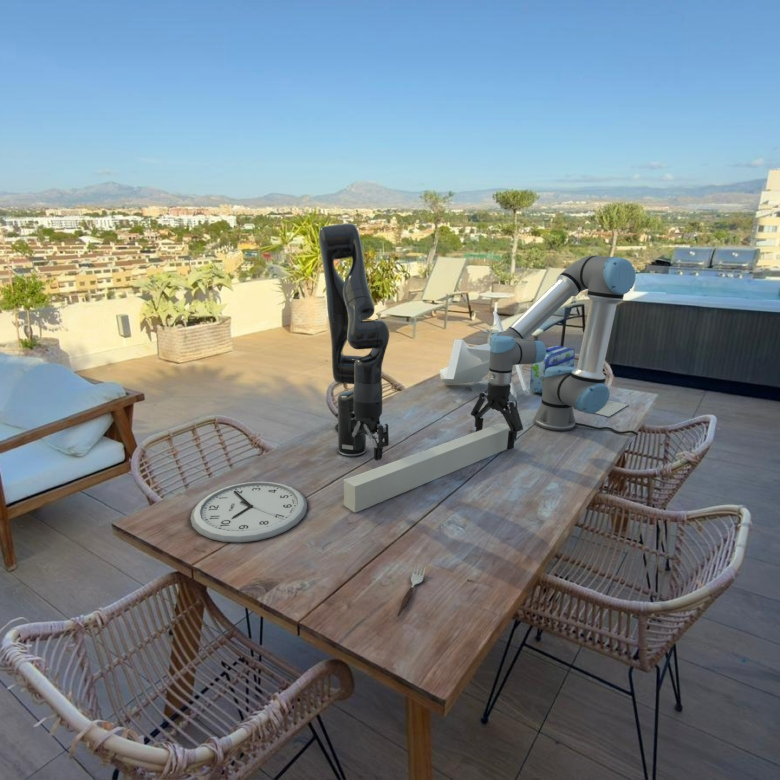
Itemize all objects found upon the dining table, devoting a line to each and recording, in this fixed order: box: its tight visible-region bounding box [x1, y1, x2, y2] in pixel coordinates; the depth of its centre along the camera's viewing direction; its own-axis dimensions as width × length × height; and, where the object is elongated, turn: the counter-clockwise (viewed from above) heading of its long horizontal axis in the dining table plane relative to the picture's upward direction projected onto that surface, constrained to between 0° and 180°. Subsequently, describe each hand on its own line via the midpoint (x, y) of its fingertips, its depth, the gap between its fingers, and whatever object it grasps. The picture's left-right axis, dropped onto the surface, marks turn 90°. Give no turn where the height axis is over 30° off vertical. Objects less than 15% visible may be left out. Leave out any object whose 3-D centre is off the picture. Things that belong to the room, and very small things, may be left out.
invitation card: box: [595, 399, 629, 418], centre depth 226 cm, size 21×1×15 cm
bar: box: [343, 422, 510, 514], centre depth 161 cm, size 68×5×8 cm, turn 131°
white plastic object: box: [438, 310, 531, 400], centre depth 245 cm, size 37×45×31 cm
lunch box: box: [529, 345, 576, 394], centre depth 244 cm, size 26×11×21 cm, turn 135°
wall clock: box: [190, 481, 308, 544], centre depth 139 cm, size 30×2×30 cm
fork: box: [397, 562, 427, 617], centre depth 109 cm, size 3×16×2 cm, turn 160°
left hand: (367, 454), depth 141 cm, fingers open, 8 cm apart
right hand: (493, 442), depth 179 cm, fingers open, 13 cm apart
